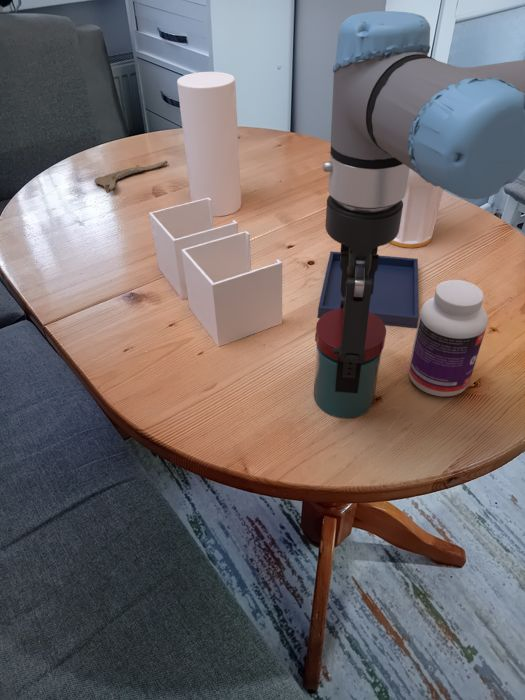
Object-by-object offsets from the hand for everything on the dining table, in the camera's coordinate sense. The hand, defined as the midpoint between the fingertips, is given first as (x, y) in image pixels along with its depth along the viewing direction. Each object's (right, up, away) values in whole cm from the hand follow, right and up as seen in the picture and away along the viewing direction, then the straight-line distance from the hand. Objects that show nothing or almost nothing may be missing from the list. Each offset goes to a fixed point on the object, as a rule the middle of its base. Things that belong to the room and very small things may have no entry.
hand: (346, 365), depth 68 cm
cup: (+17, +24, +36) cm, 46 cm away
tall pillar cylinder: (-21, +33, +48) cm, 61 cm away
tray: (+7, +12, +22) cm, 26 cm away
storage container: (-19, +11, +22) cm, 31 cm away
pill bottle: (+13, -2, +6) cm, 15 cm away
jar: (0, -4, +4) cm, 6 cm away
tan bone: (-40, +42, +59) cm, 82 cm away
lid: (0, +4, -4) cm, 6 cm away
